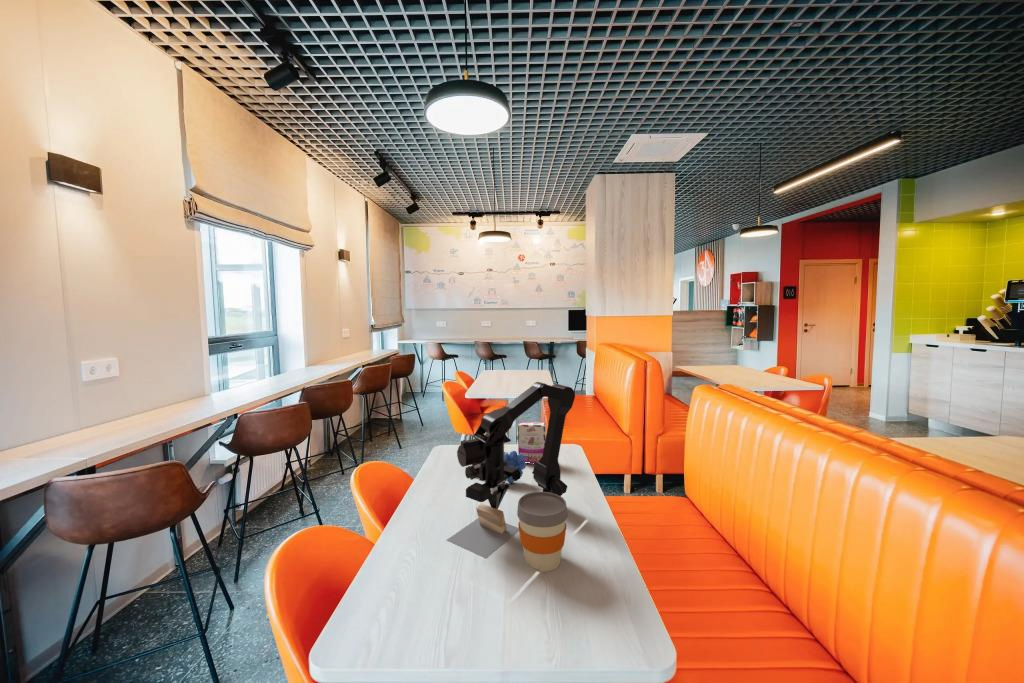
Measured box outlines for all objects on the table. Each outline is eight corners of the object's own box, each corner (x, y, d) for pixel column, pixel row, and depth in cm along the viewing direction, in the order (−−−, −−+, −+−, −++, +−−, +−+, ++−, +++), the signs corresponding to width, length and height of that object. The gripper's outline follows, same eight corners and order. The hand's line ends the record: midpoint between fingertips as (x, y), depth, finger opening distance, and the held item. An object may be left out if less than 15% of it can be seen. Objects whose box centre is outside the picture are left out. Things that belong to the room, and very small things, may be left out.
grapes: (524, 477, 148) (524, 446, 147) (527, 485, 141) (526, 452, 140) (493, 478, 147) (493, 447, 146) (494, 486, 140) (494, 454, 139)
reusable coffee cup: (533, 583, 91) (533, 521, 90) (509, 553, 102) (508, 498, 101) (577, 566, 97) (577, 508, 95) (549, 539, 108) (549, 487, 106)
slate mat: (483, 516, 120) (483, 514, 120) (521, 530, 112) (521, 528, 112) (446, 542, 107) (446, 540, 107) (486, 560, 99) (486, 558, 99)
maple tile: (485, 519, 116) (481, 502, 114) (507, 528, 112) (503, 510, 110) (480, 525, 114) (476, 508, 113) (502, 533, 110) (498, 516, 108)
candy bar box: (546, 460, 163) (546, 422, 162) (545, 465, 158) (545, 425, 157) (519, 459, 165) (519, 421, 164) (518, 463, 160) (517, 424, 159)
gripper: (492, 443, 124) (492, 491, 126) (450, 462, 109) (451, 516, 110) (521, 451, 118) (521, 501, 119) (481, 472, 103) (482, 529, 104)
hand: (494, 511), depth 113 cm, fingers closed
